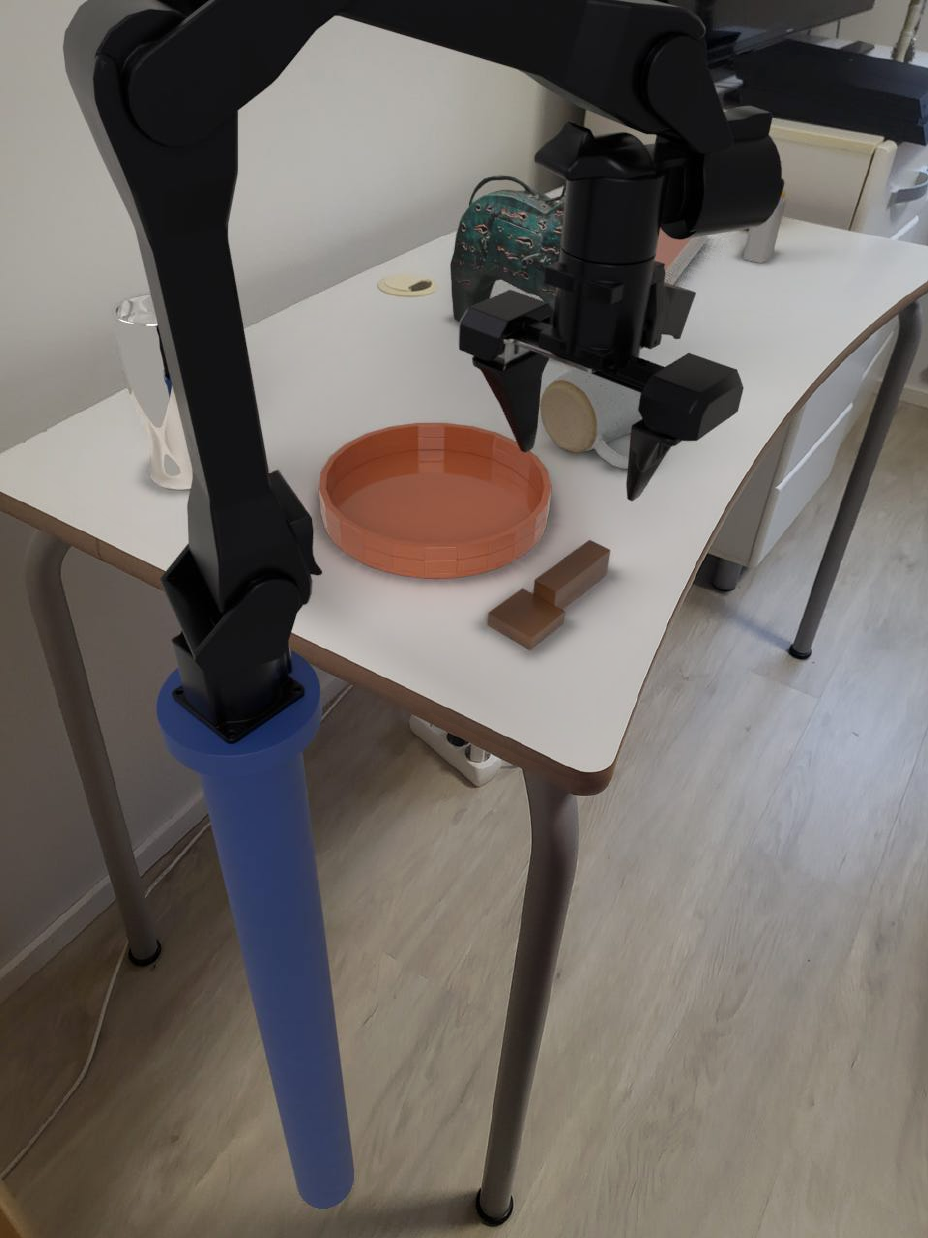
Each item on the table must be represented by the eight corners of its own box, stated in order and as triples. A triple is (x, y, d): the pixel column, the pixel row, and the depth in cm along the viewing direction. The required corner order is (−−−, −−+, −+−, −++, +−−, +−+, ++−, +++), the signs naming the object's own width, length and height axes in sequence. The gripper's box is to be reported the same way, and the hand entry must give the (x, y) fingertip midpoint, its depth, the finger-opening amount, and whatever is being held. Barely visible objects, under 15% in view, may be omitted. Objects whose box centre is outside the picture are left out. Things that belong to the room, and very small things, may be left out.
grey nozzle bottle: (774, 252, 131) (797, 159, 123) (763, 263, 127) (785, 168, 120) (752, 247, 132) (773, 155, 124) (741, 258, 128) (762, 164, 121)
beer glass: (202, 443, 87) (174, 283, 77) (240, 475, 83) (216, 310, 73) (131, 467, 83) (93, 302, 74) (167, 502, 79) (132, 333, 70)
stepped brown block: (617, 580, 73) (621, 555, 71) (530, 650, 67) (532, 624, 65) (575, 559, 75) (579, 534, 73) (487, 625, 69) (488, 598, 67)
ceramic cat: (611, 357, 104) (638, 162, 91) (578, 376, 100) (602, 176, 87) (472, 307, 113) (478, 124, 100) (437, 323, 109) (439, 135, 96)
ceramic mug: (530, 438, 89) (537, 363, 84) (587, 411, 94) (597, 338, 89) (615, 485, 84) (629, 408, 79) (671, 454, 88) (687, 379, 83)
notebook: (659, 307, 115) (661, 290, 113) (531, 281, 120) (532, 266, 118) (709, 240, 134) (712, 225, 132) (597, 220, 139) (599, 206, 137)
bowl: (442, 611, 70) (443, 580, 68) (274, 511, 79) (270, 480, 77) (592, 507, 81) (596, 477, 79) (429, 429, 90) (429, 401, 88)
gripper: (813, 255, 56) (752, 478, 66) (562, 185, 65) (542, 391, 75) (721, 306, 49) (669, 546, 60) (456, 222, 58) (450, 442, 69)
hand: (578, 473), depth 66 cm, fingers open, 9 cm apart
